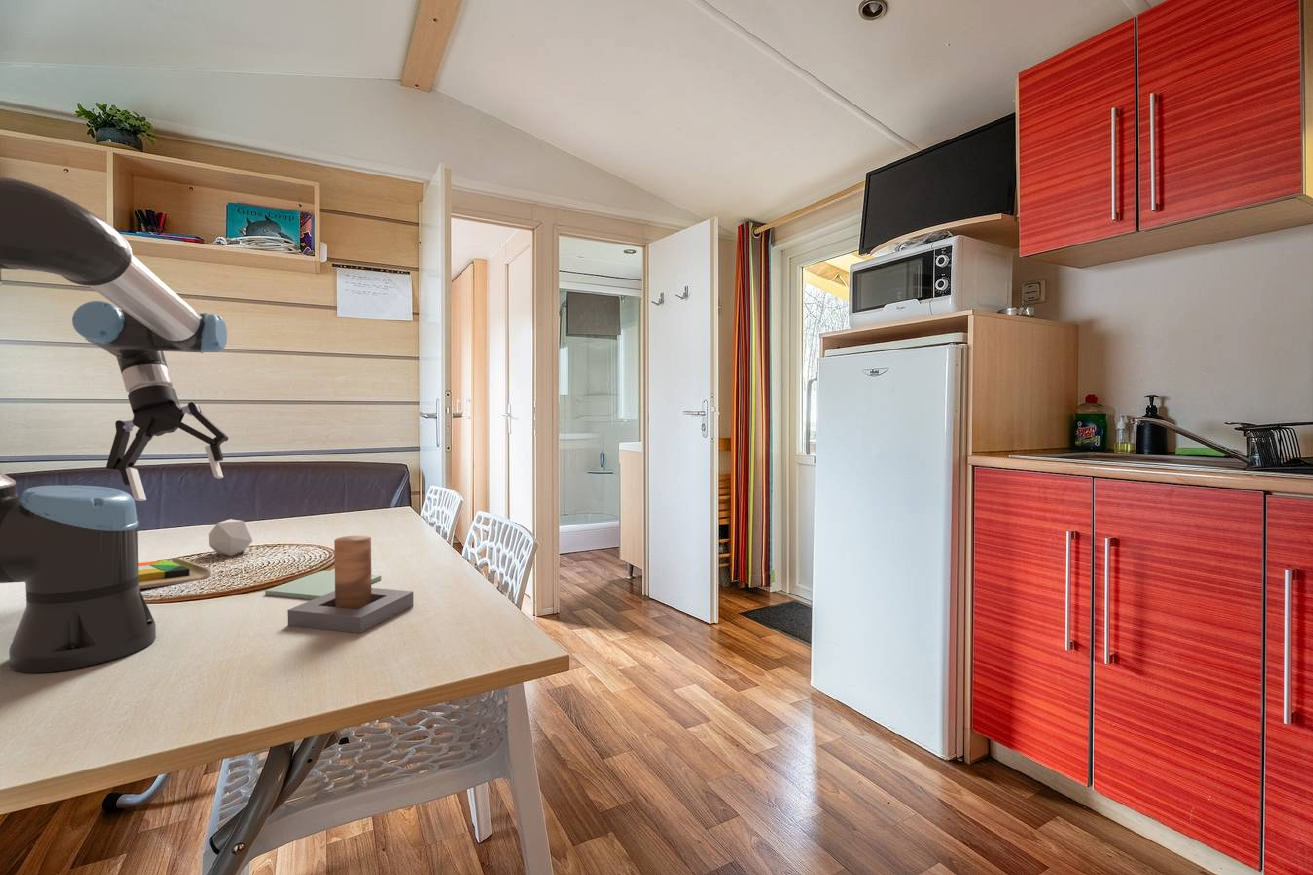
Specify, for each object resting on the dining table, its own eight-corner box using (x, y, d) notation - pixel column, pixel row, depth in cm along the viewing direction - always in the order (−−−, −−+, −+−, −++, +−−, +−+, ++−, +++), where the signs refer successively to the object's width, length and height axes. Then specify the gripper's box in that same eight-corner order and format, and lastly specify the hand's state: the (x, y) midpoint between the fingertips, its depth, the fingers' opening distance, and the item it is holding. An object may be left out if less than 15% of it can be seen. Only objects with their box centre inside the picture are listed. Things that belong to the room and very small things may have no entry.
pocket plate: (360, 633, 94) (360, 617, 94) (287, 625, 97) (287, 609, 97) (413, 605, 107) (413, 591, 107) (347, 599, 110) (347, 585, 110)
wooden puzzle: (213, 579, 123) (213, 562, 123) (91, 604, 107) (90, 584, 107) (177, 566, 132) (177, 550, 132) (59, 587, 116) (59, 569, 116)
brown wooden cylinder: (356, 622, 99) (355, 543, 98) (327, 618, 100) (326, 541, 99) (378, 610, 104) (378, 536, 103) (351, 608, 105) (350, 534, 104)
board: (330, 601, 109) (330, 596, 109) (265, 594, 112) (265, 590, 112) (381, 579, 122) (381, 575, 122) (322, 574, 125) (322, 570, 125)
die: (261, 554, 143) (259, 518, 147) (236, 544, 135) (234, 506, 140) (227, 567, 142) (225, 530, 147) (199, 557, 135) (199, 519, 139)
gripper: (227, 379, 130) (255, 470, 128) (88, 413, 122) (117, 511, 120) (213, 368, 123) (243, 465, 121) (64, 403, 115) (94, 508, 113)
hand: (180, 488), depth 121 cm, fingers open, 13 cm apart
